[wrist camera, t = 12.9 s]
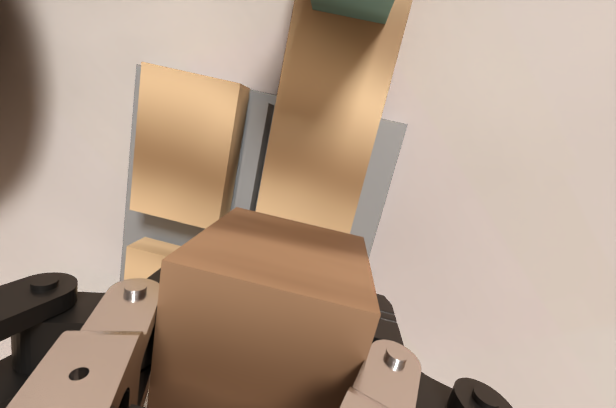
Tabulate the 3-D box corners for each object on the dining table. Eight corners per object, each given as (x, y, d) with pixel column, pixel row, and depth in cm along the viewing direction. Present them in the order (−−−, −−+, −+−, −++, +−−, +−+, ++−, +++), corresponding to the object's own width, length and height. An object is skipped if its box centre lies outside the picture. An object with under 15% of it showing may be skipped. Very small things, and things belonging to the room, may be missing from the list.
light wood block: (161, 69, 15) (141, 61, 13) (250, 88, 15) (239, 83, 13) (148, 203, 17) (129, 209, 15) (228, 223, 16) (217, 231, 15)
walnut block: (236, 207, 12) (161, 260, 7) (363, 237, 11) (381, 314, 6) (218, 317, 13) (145, 429, 8) (333, 347, 13) (328, 480, 8)
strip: (313, -56, 13) (277, -301, 6) (418, -36, 13) (519, -266, 5) (247, 289, 17) (176, 403, 10) (326, 310, 17) (314, 443, 9)
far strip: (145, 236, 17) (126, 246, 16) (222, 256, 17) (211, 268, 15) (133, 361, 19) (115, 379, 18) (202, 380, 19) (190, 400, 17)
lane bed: (144, 66, 16) (-222, -64, 6) (404, 124, 15) (542, 98, 5) (120, 351, 20) (-113, 577, 10) (323, 408, 19) (302, 718, 9)
